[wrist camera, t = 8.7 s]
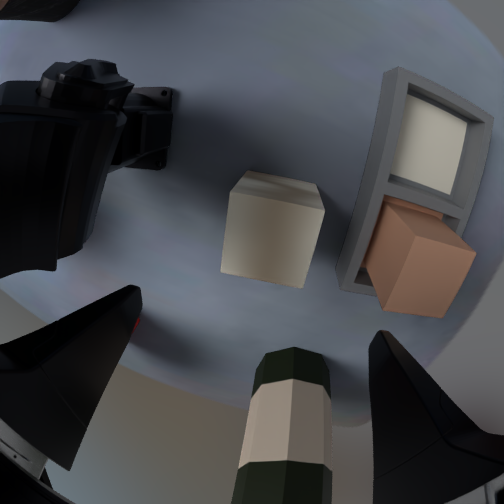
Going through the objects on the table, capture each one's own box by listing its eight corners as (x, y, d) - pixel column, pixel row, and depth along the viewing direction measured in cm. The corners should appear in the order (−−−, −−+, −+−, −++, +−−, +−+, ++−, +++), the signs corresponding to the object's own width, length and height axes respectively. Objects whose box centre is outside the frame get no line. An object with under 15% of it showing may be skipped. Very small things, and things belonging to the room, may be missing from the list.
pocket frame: (335, 268, 22) (340, 289, 19) (383, 72, 14) (398, 66, 11) (417, 284, 21) (429, 305, 19) (472, 114, 14) (493, 117, 11)
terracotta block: (363, 260, 20) (382, 310, 15) (383, 200, 17) (415, 235, 12) (414, 271, 20) (442, 318, 14) (436, 216, 17) (476, 253, 12)
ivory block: (238, 231, 22) (220, 272, 16) (247, 170, 19) (230, 191, 14) (300, 244, 21) (302, 288, 16) (315, 183, 19) (325, 210, 14)
